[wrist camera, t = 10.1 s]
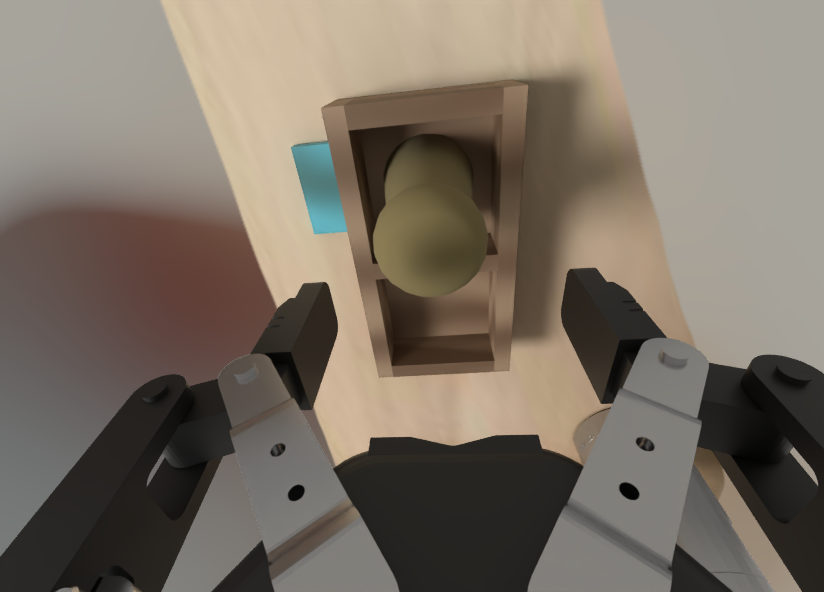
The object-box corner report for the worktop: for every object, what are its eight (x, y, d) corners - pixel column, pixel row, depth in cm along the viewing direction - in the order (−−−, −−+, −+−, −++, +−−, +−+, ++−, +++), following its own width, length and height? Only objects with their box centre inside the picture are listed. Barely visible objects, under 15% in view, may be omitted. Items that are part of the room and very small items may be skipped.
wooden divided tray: (500, 338, 32) (509, 370, 29) (348, 347, 34) (339, 379, 30) (512, 79, 21) (528, 84, 18) (284, 105, 23) (260, 114, 19)
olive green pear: (408, 114, 22) (397, 158, 13) (491, 162, 23) (534, 232, 14) (368, 200, 25) (337, 285, 16) (444, 238, 27) (455, 335, 17)
